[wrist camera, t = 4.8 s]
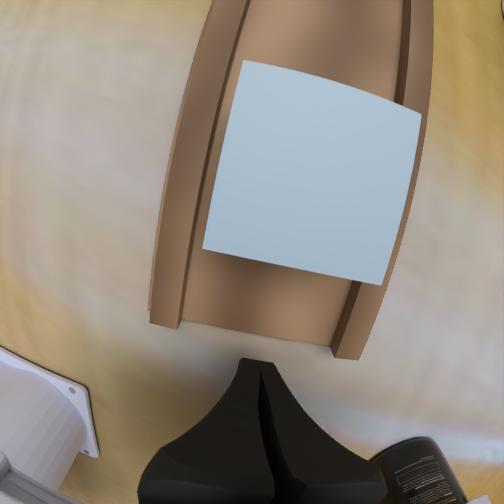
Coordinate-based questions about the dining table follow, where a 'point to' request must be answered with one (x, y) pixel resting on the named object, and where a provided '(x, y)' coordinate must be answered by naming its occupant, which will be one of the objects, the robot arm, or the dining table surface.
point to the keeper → (311, 174)
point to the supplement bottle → (418, 474)
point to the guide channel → (210, 146)
